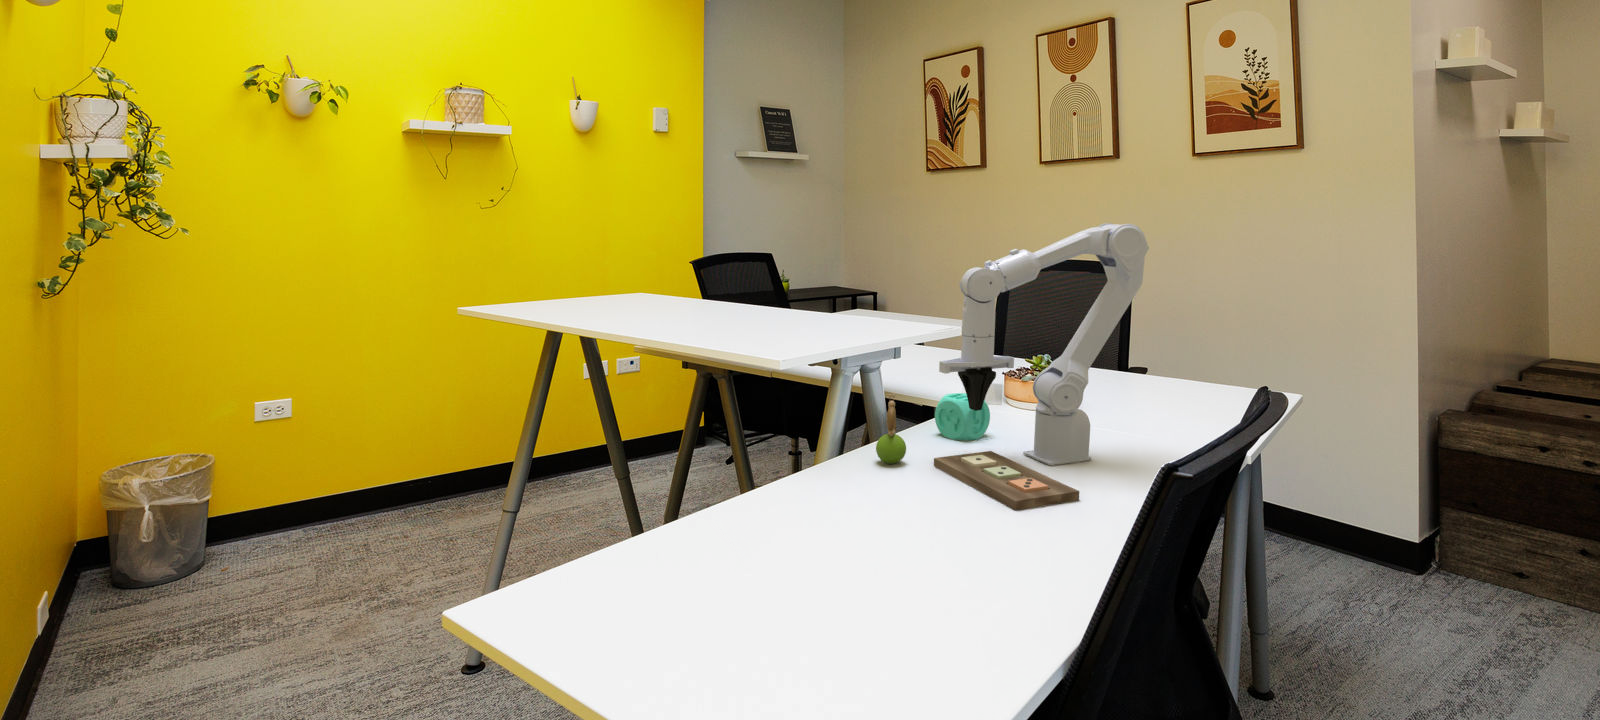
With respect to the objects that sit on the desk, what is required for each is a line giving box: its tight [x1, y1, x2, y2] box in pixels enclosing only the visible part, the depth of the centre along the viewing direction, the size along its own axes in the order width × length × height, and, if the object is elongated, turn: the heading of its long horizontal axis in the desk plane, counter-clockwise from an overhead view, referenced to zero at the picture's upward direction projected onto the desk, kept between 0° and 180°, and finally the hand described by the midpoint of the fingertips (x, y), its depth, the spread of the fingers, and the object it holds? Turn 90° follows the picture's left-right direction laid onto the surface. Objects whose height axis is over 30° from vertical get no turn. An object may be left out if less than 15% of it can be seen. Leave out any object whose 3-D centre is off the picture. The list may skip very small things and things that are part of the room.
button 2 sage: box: [983, 466, 1021, 480], centre depth 138 cm, size 4×4×2 cm
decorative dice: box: [934, 392, 991, 442], centre depth 167 cm, size 8×8×8 cm
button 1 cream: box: [961, 455, 997, 468], centre depth 145 cm, size 4×4×2 cm
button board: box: [933, 450, 1080, 511], centre depth 138 cm, size 12×24×2 cm, turn 21°
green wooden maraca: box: [875, 393, 907, 465], centre depth 149 cm, size 5×6×12 cm
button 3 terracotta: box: [1008, 478, 1048, 493], centre depth 132 cm, size 4×4×2 cm
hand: (975, 409), depth 150 cm, fingers closed
